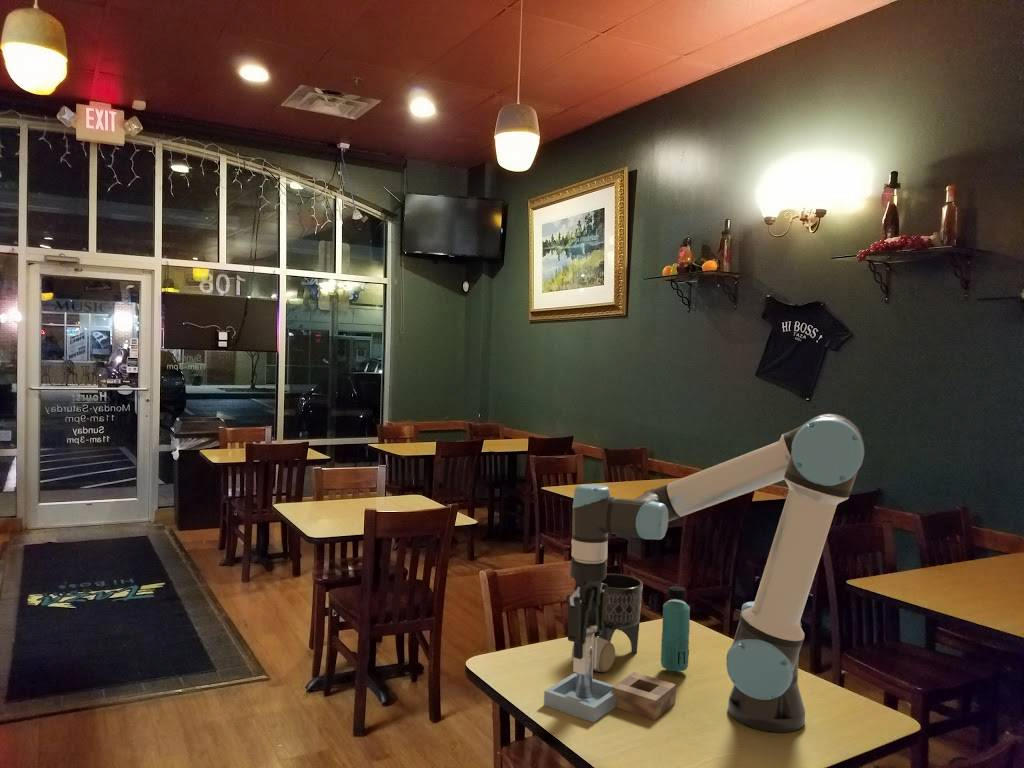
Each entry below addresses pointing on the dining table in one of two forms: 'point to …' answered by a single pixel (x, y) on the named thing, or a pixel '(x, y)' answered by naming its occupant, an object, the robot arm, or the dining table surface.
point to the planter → (622, 607)
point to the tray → (587, 709)
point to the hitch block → (644, 695)
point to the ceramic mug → (603, 655)
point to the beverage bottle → (675, 631)
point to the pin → (586, 680)
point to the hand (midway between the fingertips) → (584, 669)
